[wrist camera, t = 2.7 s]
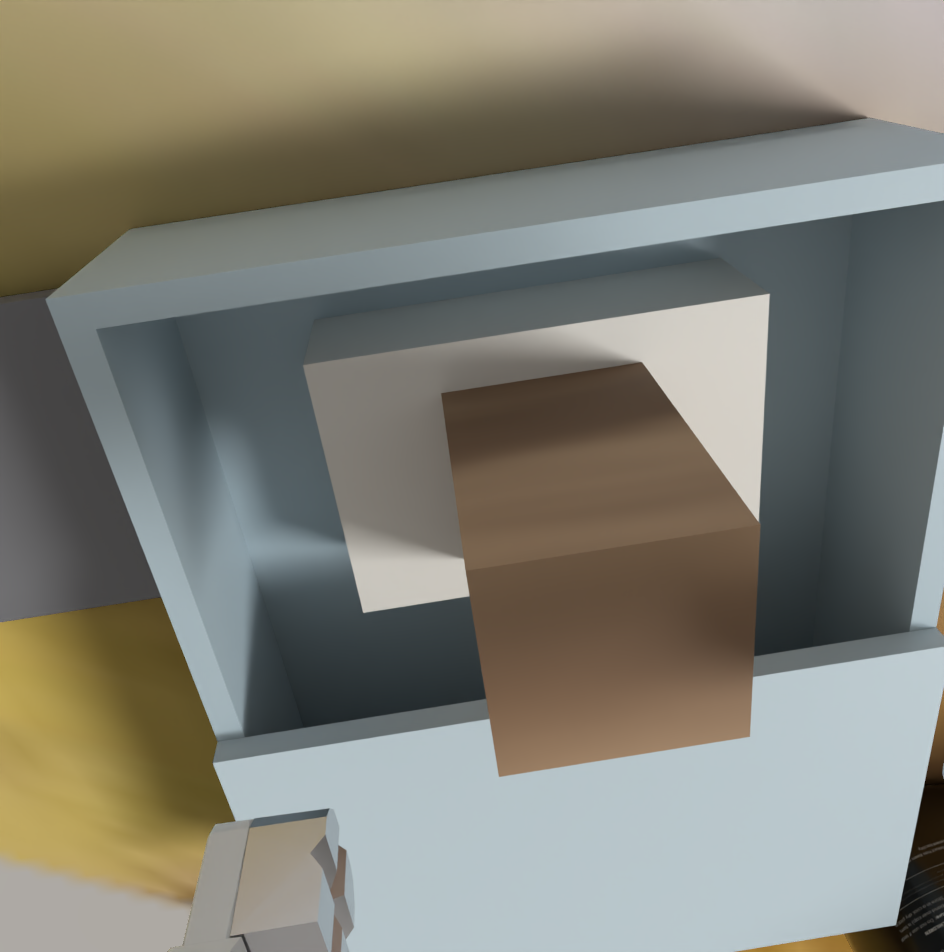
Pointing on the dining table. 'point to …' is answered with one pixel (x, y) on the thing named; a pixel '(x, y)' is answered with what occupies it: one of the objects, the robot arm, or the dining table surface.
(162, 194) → the dining table surface
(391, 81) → the dining table surface
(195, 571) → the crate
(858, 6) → the dining table surface
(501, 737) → the walnut block
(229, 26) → the dining table surface
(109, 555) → the pad
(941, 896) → the supplement bottle
